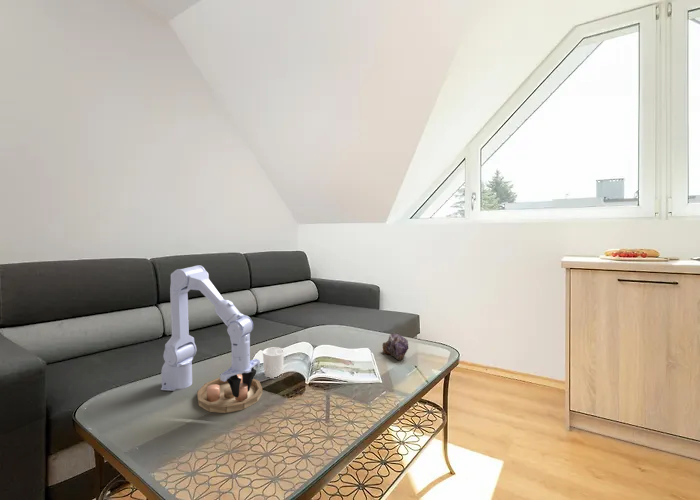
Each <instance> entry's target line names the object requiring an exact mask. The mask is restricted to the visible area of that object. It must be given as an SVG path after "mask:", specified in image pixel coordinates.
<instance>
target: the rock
mask: <svg viewBox="0 0 700 500" xmlns="http://www.w3.org/2000/svg"><path fill="white" fill-rule="evenodd" d="M388 336H389V337H388V340H386V342H382V344H381V345H382V352H383V354H385V355H391V357H393V358H395V359H396V360H399V361H401V360H403V359H404V357H405V355H406V354H407V352H408V350H409V341H408V339H407V338H405V337H404V336H403V335H401V334H399V333H390V334H389V335H388Z"/></svg>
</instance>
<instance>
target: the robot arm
mask: <svg viewBox="0 0 700 500" xmlns="http://www.w3.org/2000/svg"><path fill="white" fill-rule="evenodd" d="M209 275H210V274H209V272H208V271H207V270H206V269H205V267H204V266H203V265H199V264H196V265H194V266H188V267H185V268H177V269H175V270H174V271H172V272H171V273H170V285H169V287H170V288H169V290H170V291H169V294H170V295H169V297H170V323H171V326H170V327H171V336H170V338H169V340H167V342H166V343H165V344H164V351H163V360H164V363H163V365H162V367H161V371H160V373H161V375H160V376H161V388H160V390H161V391H166V392H167V391H169V392H170V391H171V392H174V391H176V390H182V389H186V388H189V387H190V386H192V384H193V365H192V364H193V363H192V361H193V360H194V357H195V355H196V354H197V345H196V343H195V337H193V336H192V335H190V333H189V332H190V331H189V330H190V329H189V327H190V326H189V325H190V324H189V323H190V321H189V297H188V292H190V291H191V290H192V291H200V293H201V294H202V295H203V296H204V297H205V298H206V299H207V300H208V301H209V302H210V303H211V304H213V306H215V307H214V311H215V314H216V315H217V316H218V317H219V318H220V319H221V321H222V322H223V323H224V324H225V325H226V327H227V328H226V331H227V334H228V335H229V338H230V339H229V340H230V343H231V366H230V367H229V368H228V369H227V370H225V371H224V372H222V373H221V374H219V376H220V377H219V378H220V380H222V381H224V382H225V381H228V383H229V385H230V387H231V390H232V394H233V396H235V397H239V386H240V382H241V379H240V378H238V376H237V375H238V374H241V375H242V377H243V383H245V384H247V385H248V391H249V390H250V386H251V383H252V380H253V378H254V379H255V376H256V374H257V370H256V369H255V367H260V366H261V360H260V359H258V358H254V359H251V339H250V338H251V333H252V331H253V330H254V322H253V320H252V318H251V317H250V316H248V315H246V314H244V313H242V312H241V311H240V310H239V309H238V308H237V307H236V305H234V303H233V301H231V300H229V299H224V298H223V296H222V295H221V293H220V292H219V291H218V289H217V288H216V286H215V285H214V284H213V282H212V281H211V280H210V276H209Z"/></svg>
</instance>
